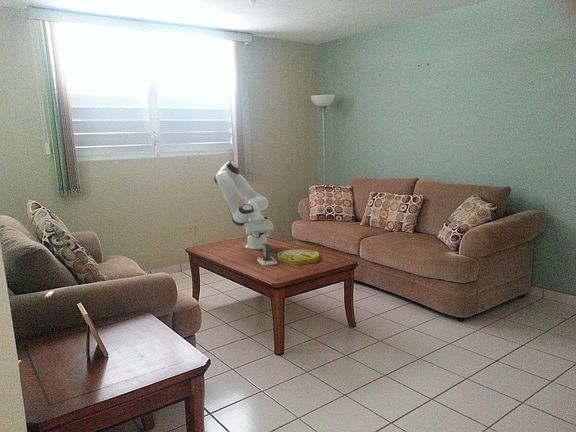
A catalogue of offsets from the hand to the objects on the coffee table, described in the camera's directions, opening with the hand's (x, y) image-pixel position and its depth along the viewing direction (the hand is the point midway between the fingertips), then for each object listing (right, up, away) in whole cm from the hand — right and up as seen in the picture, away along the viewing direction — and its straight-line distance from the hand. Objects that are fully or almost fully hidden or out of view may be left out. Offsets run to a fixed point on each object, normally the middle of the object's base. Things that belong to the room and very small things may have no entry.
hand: (262, 237), depth 307 cm
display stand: (+3, -17, -6) cm, 18 cm away
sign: (+25, -16, +1) cm, 30 cm away
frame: (+4, -16, -6) cm, 17 cm away
